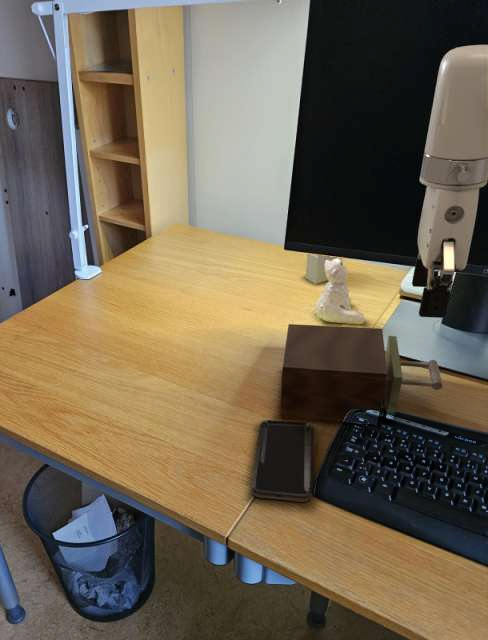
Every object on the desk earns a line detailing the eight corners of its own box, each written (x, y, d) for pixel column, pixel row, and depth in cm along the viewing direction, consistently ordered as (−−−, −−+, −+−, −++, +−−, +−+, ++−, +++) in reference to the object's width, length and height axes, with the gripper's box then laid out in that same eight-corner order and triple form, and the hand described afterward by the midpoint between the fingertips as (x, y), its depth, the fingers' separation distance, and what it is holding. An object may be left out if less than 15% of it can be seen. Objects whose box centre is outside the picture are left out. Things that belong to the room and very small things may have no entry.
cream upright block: (340, 276, 125) (344, 232, 119) (315, 283, 123) (319, 239, 117) (329, 270, 128) (333, 227, 122) (305, 278, 125) (308, 234, 119)
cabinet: (374, 378, 94) (382, 328, 88) (377, 426, 84) (387, 373, 78) (286, 372, 97) (288, 323, 91) (279, 418, 87) (282, 366, 81)
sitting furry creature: (366, 325, 107) (375, 266, 100) (323, 331, 107) (328, 272, 99) (347, 303, 115) (354, 247, 108) (307, 308, 114) (311, 252, 107)
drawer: (428, 379, 91) (438, 338, 86) (438, 423, 82) (449, 380, 77) (305, 371, 95) (308, 331, 90) (302, 412, 86) (305, 371, 81)
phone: (313, 423, 83) (311, 497, 72) (312, 428, 84) (310, 503, 72) (260, 419, 85) (250, 491, 73) (260, 425, 86) (250, 497, 74)
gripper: (506, 191, 59) (467, 334, 69) (475, 149, 72) (446, 274, 83) (430, 191, 61) (404, 331, 71) (414, 150, 74) (393, 273, 84)
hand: (427, 300), depth 77 cm, fingers open, 8 cm apart
